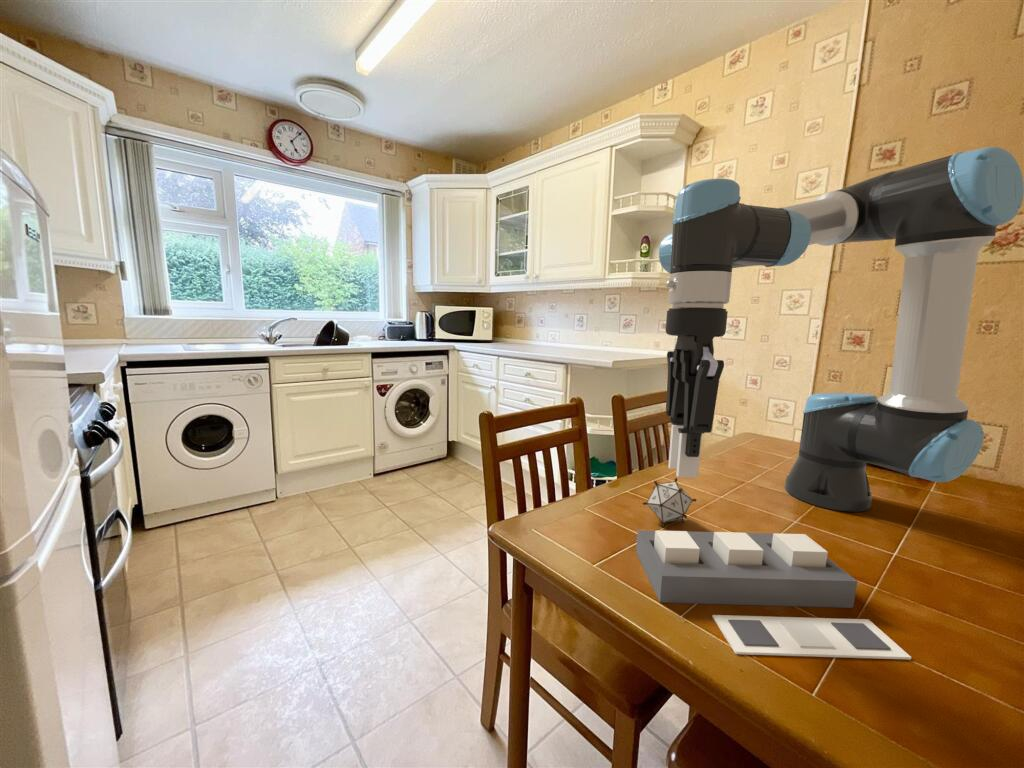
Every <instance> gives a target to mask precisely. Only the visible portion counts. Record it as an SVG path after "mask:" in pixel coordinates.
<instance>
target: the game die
mask: <svg viewBox="0 0 1024 768" xmlns="http://www.w3.org/2000/svg"><path fill="white" fill-rule="evenodd" d="M678 480H679V479H678V477H675V478H674V481H669V482H668V481H667V482H663V483H662V482H661V483H660V482H659V483H658V482H657V480H653V484H654V485H655V486H653V488H652V489H653V490H652V491H651V494H649V497H648V499H647V501H646V502H643V503H642V505H644V506H645V505H646V506H648V508H649V509H650V510H652V512H653V513H654V514H655V516H656V517H657V518H658V519H659V520H660V521H661V523H660V528H662V527H664V525H665V523H666V524H667V523H670V522H678V521H680V522H681V523H683V524H684V523H685V520H686V519H688V515H686V513H687V512H688V510H689V508H690V506H691V504H692V503H693V502H697V501H698V499H696V498H692V497H691V496H689V494H688V493H687V492H686V491H685V490H684V488H682V487H681V485H680V484H679V483H678Z"/></svg>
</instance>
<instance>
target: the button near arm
mask: <svg viewBox="0 0 1024 768" xmlns="http://www.w3.org/2000/svg"><path fill="white" fill-rule="evenodd" d="M772 534H773V540H772V547H771V549H772V550H773V551H774V552H775V553H777V554H778V555H779V556H780V557H781V558H782V559H783V560H784V561H785V562H786V563H787V564H788V565H789V566H796V567H826V561H827V557H828V554H829V552H828V551H827V550H826V549H825V548H823V547H822V546H821V545H820V544H818V543H817V542H816V541H814V540H813V539H812V538H811V537H809V536H808V535H807V534H806V533H778V532H777V533H772Z"/></svg>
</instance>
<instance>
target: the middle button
mask: <svg viewBox="0 0 1024 768" xmlns="http://www.w3.org/2000/svg"><path fill="white" fill-rule="evenodd" d="M713 532H714V538H713V547H712V548H713V549H714V551H715V552H716V553H717V554H718V556H719V557H720V558H721V559H722V560H723V562H724V563H725V564H726V565H758V566H762V559H763V551H764V550H763V549H762V548H761V547H760V546H759V545H758V544H757V543H756V542H755V541H754V540H753V539H752V538H751V537H749V536H748V535H747V534H746V533H747V532H732V531H726V532H725V531H713Z"/></svg>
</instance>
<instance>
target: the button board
mask: <svg viewBox="0 0 1024 768" xmlns="http://www.w3.org/2000/svg"><path fill="white" fill-rule="evenodd" d="M686 531H687V530H686ZM687 532H688V534H689V535H690V536H691V538H692V539H693V540H694V542H695V543H696V544H697V546H698V547H699V548H700V552H699V562H698V564H682V563H662V562H661V560H660V558H659V557H658V555H657V553H656V551H655V549H654V540H655V530H648V529H647V530H645V529H644V530H642V529H641V530H639V529H638V530H637V534H636V547H635V553H636V556H637V558H638V560H639V562H640V564H641V566H642V568H643V570H644V573H645V574H646V576H647V578H648V581H649V582H650V585H651V587H652V589H653V591H654V593H655V595H656V597H657V599H658V602H659V603H661V604H662V603H665V604H667V603H668V604H670V603H671V604H696V605H697V604H701V605H702V604H703V605H704V604H705V605H706V604H707V605H738V606H739V605H741V606H770V607H771V606H774V607H775V606H776V607H805V608H807V607H811V608H841V609H842V608H843V609H845V608H846V609H853V608H854V603H855V598H856V592H857V586H858V580H856V579H855V578H854V577H853V576H851V574H849V573H848V572H847V571H845V569H843V568H841V567H840V566H839V565H838V564H836V563H835V562H834V561H833V560H832V559H830V558H829V557H828V556H827V561H826V567H796V566H789V565H788V564H787V563H786V562H785V561H784V560H783V559H782V558H781V557H780V556H779V555H778V554H777V553H775V552H774V551H773V550H772V549H771V547H772V540H773V533H765V532H760V533H759V532H745V533H746V534H747V535H748V536H749V537H751V538H752V539H753V540H754V541H755V542H756V543H757V544H758V545H759V546H760V547H761V548H762V549H763V550H764V551H763V559H762V566H758V565H726V564H725V563H724V562H723V560H722V559H721V558H720V557H719V556H718V554H717V553H716V552H715V551H714V549H713V548H712V547H713V538H714V532H715V531H689V530H688V531H687Z"/></svg>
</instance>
